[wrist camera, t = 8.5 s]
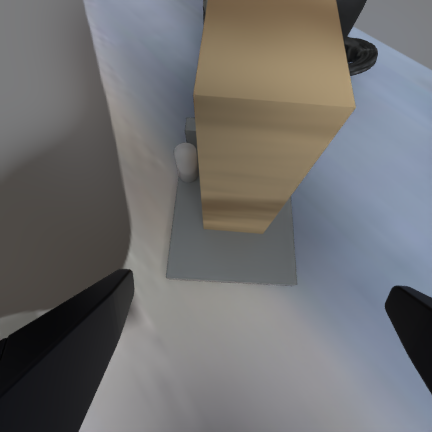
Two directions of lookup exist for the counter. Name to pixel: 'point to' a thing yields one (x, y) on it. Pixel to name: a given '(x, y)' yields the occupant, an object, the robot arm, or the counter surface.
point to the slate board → (224, 236)
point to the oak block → (265, 104)
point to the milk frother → (355, 48)
